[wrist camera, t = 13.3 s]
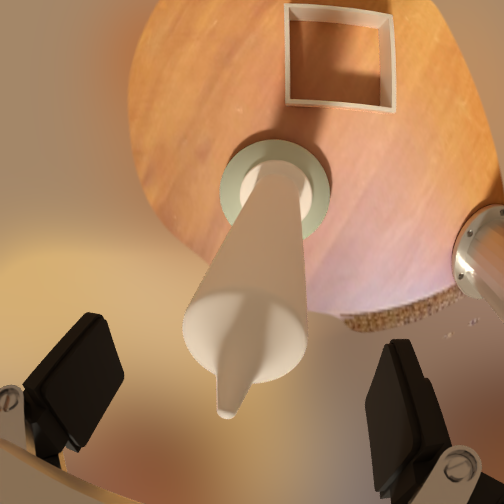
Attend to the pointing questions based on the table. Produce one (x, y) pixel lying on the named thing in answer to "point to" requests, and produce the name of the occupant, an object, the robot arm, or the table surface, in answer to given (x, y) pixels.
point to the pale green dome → (276, 151)
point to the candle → (255, 288)
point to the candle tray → (352, 18)
